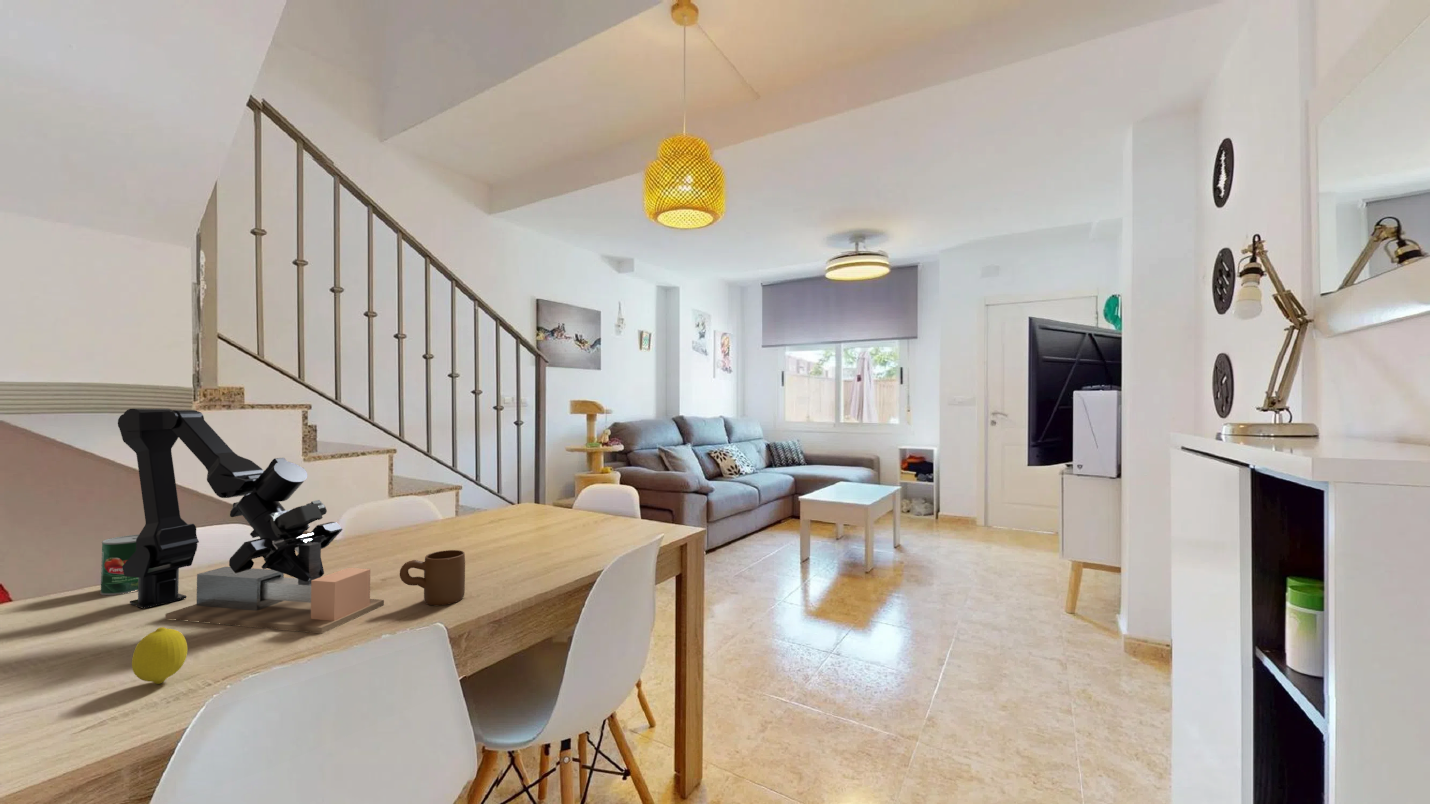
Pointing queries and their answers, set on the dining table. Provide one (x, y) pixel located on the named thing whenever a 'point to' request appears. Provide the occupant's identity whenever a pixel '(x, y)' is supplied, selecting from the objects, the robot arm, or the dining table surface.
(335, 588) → the socket block
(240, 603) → the sleeve
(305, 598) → the tube
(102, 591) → the canned tomato
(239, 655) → the dining table surface
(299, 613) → the base board
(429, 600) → the mug
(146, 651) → the lemon
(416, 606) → the dining table surface
